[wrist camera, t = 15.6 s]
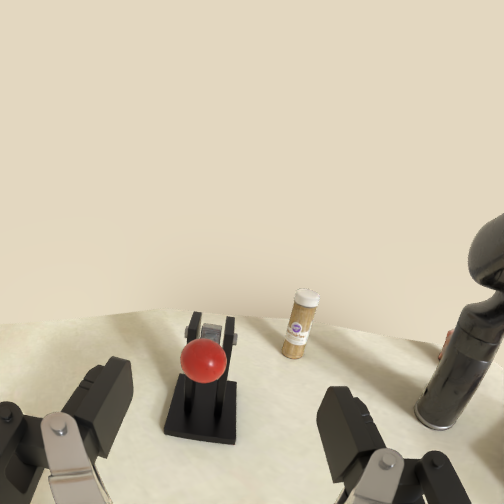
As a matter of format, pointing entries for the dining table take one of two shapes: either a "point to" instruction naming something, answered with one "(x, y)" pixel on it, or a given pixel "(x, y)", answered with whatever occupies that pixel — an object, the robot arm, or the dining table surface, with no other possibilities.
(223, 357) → the lever
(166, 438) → the dining table surface
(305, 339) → the sprinkles bottle
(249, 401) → the dining table surface
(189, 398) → the bracket
